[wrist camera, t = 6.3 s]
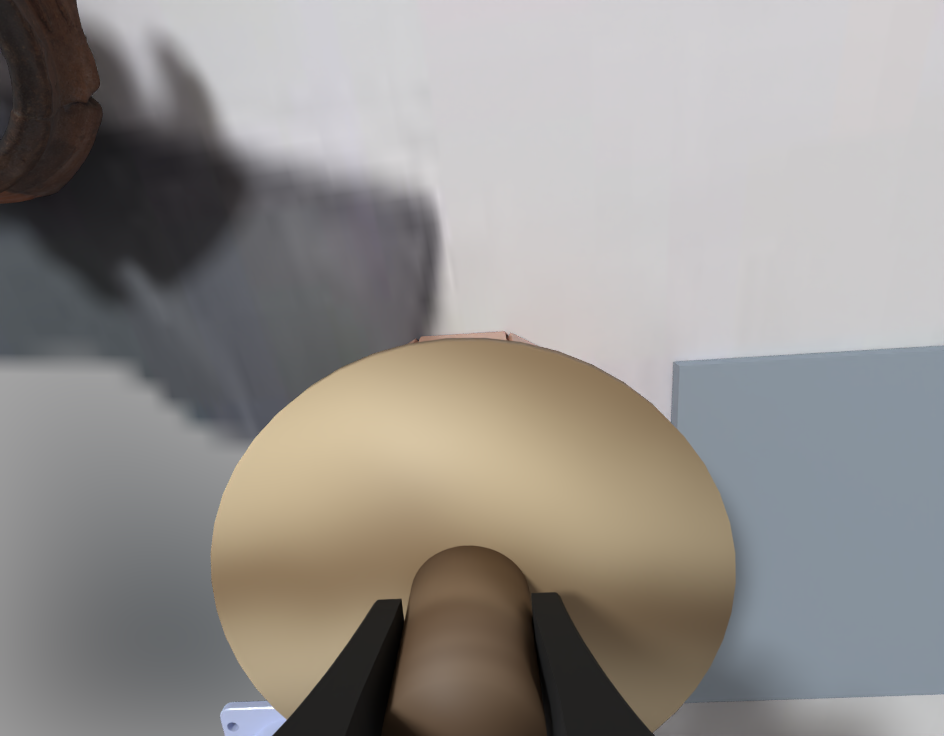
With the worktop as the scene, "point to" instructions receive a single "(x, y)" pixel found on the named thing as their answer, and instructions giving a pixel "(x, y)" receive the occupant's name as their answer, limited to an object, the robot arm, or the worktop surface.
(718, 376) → the rubber mat
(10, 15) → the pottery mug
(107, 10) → the worktop surface
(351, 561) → the oak lid
